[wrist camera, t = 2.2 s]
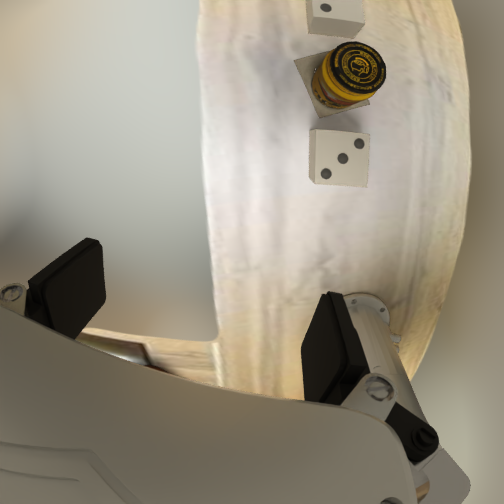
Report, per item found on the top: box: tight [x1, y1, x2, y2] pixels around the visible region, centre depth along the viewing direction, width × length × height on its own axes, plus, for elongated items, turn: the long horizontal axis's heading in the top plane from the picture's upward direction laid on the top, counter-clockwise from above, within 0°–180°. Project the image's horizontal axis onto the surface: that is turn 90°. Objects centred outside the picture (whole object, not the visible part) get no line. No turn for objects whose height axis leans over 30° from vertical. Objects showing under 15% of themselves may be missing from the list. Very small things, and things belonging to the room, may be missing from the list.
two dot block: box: [306, 0, 365, 39], centre depth 22 cm, size 6×6×6 cm
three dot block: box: [309, 129, 370, 187], centre depth 30 cm, size 6×6×6 cm
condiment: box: [294, 41, 386, 118], centre depth 23 cm, size 7×8×12 cm
